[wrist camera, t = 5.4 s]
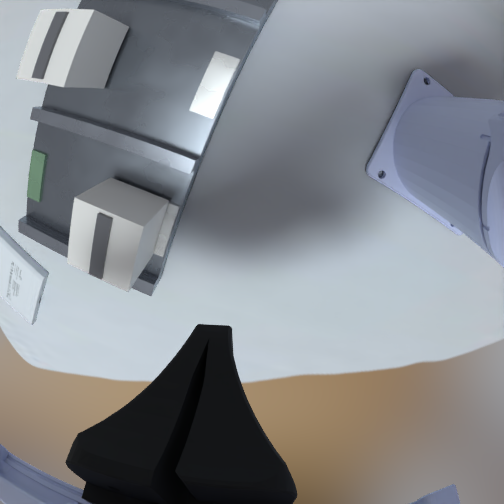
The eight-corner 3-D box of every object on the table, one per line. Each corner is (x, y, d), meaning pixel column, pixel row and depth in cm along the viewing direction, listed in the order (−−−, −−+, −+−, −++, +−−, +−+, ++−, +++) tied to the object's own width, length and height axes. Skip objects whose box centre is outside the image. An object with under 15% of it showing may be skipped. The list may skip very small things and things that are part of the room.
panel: (318, -65, 9) (324, -81, 7) (160, 278, 20) (150, 296, 18) (156, -92, 7) (147, -106, 5) (34, 220, 19) (18, 231, 17)
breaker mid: (129, 26, 11) (92, 8, 8) (103, 88, 13) (61, 87, 9) (79, 21, 11) (38, 8, 7) (57, 78, 12) (13, 78, 9)
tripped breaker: (169, 200, 16) (142, 228, 12) (152, 256, 18) (126, 294, 14) (110, 177, 16) (72, 198, 12) (99, 233, 17) (65, 264, 14)
